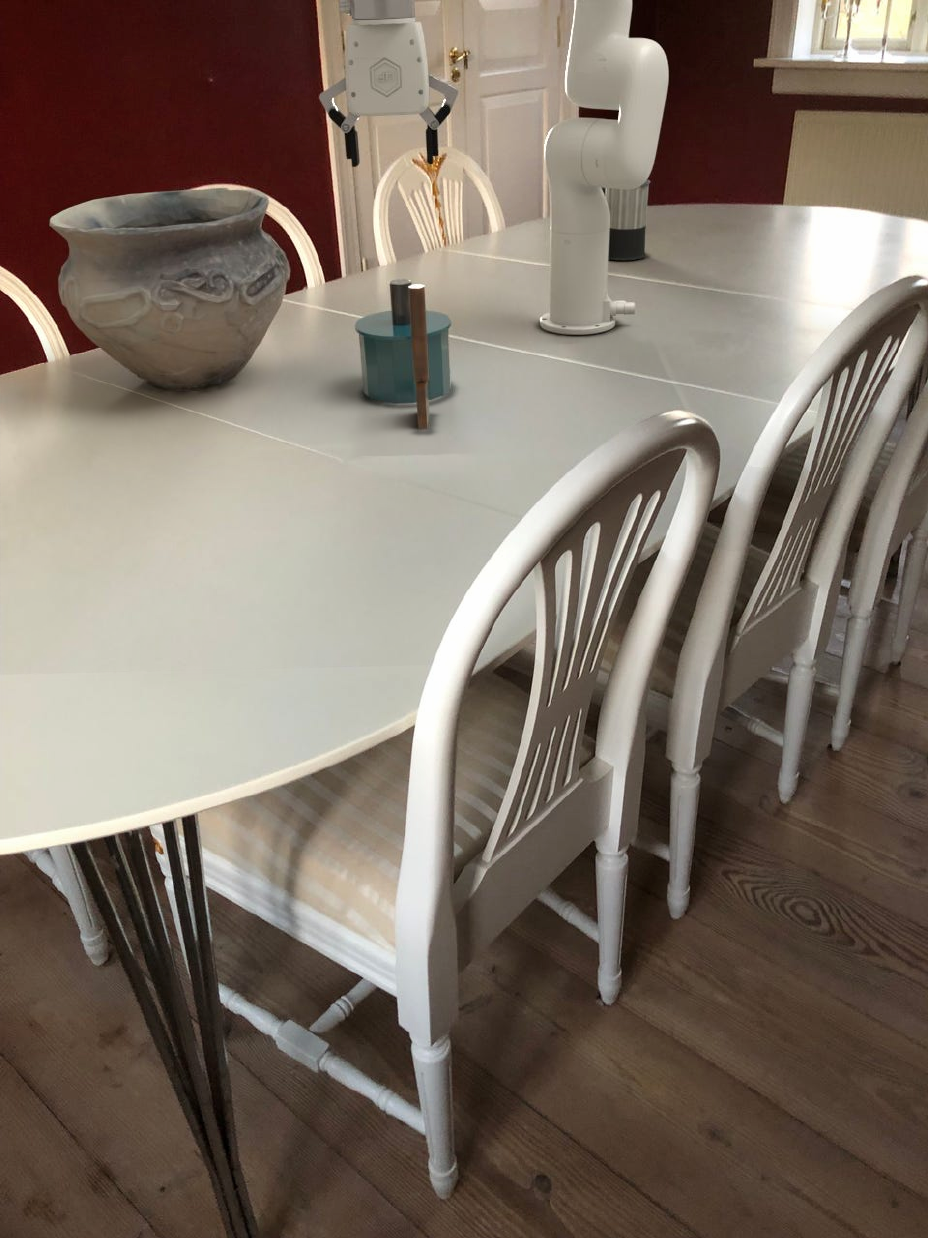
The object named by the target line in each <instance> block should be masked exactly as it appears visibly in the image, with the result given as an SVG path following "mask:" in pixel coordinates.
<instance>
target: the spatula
mask: <svg viewBox="0 0 928 1238" xmlns="http://www.w3.org/2000/svg"><path fill="white" fill-rule="evenodd" d="M408 288H409V305H410V322H411V339H412V356H413V373H414V381H415V382H417V385H416V398H417V402H416V413H417V414H416V415H417V429H418V430H424V429H425V430H426V429H428V427H429V417H430V403H429V401H430V400H428V381H429V364H428V345H427V325H426V310H427V308H426V307H427V306H426V289H425V288H426V287H425V285H424V284H419V283H418V284H412V285H411V286H409V287H408Z"/></svg>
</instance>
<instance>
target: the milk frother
mask: <svg viewBox="0 0 928 1238" xmlns="http://www.w3.org/2000/svg"><path fill="white" fill-rule="evenodd" d="M650 183H651V180H649V179H647V180H646V181H645V182H644V183H643V184H642V185H641V186H640V187H638V188H635V189H630V190H623V189H613V188H603V187H601V188H602V190H603V193H604V195H605V197H606V200H607V203H608V206H609V211H610V229H609V255H608V260H612V261H623V262H624V261H633V260H634V261H635V260H640V259H644V258H645V257H646V255H647V254H646V228H647V225H646V224H647V216H648V202H649V186H650Z"/></svg>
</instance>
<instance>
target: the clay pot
mask: <svg viewBox="0 0 928 1238" xmlns="http://www.w3.org/2000/svg"><path fill="white" fill-rule="evenodd" d="M269 205H270V200H269V197H268V196H267V194H265V193H264V192H262V191H260V190H258V189H251V188H247V189H244V188H243V189H230V188H228V187H212V188H205V189H183V190H182V189H181V190H169V191H168V190H167V191H152V192H142V193H129V194H122V195H117V196H110V197H103V198H96V199H92V200H91V199H90V200H88V201H85V202H81V203H80V204H76V205H73V206H71V207H68V208H66V209H63V210H61V211H59V212H58V213H56V214H55V215H53V216H51V218H50V219H49V227H51V228H52V229H53V230H54V231H55V232H57V233H58V234H59V235H60V236H61V237H62V238H64V239H65V240H66V241H67V244H68V245H67V246H68V248H69V249H68V250H69V253H68V257H67V260H66V261H64V263H63V264H62V266H61V268H60V273H59V275H58V294H59V298H60V301H61V304H62V306H64V308H66V311H67V313H68V315H69V317H70V319H71V321H72V322H73V323H74V325H75V326H76V327H77V328H78V329H79V330H80V331H81V332H82V333H83V334H84V335H85V336H86V338H88V339H89V340H90V341H91V342H92V343H93V344H94V345H96V346H97V347H98V348H99V349H101V350H102V351H103V352H105V354H107V355H108V356H110V357H111V358H112V359H114V360H115V361H117V363H119V364H120V365H121V366H122V367H124V368H125V369H127V370H128V371H129V372H131V373H132V374H133V375H134V376H136V377H137V378H139V379H140V380H145V381H146V383H147V384H148V385H150V386H151V387H153V388H154V389H157V390H159V391H166V392H190V391H199V390H206V389H209V388H212V387H219V386H220V387H221V386H222V385H223V384H226V383H228V382H230V381H231V380H233V379H235V377H236V376H238V375H239V373H240V372H241V371H242V370H243V369H244V368H245V367H246V365H247V364H248V363H249V362H250V360H251V359H252V357H253V356H254V354H255V352H256V351H257V349H258V347H259V346H260V345H261V343H262V341H263V340H264V337H265V336H266V335H267V334H266V333H267V332H268V330H269V327H270V326H271V324H272V322H273V320H274V319H275V317H276V315H277V313H278V311H279V310H280V308H281V306H282V303H283V300H284V297H285V295H286V290H287V283H288V281H289V280H290V278H291V277H290V276H291V267H290V263H289V262H290V261H289V260H288V258H287V255H286V252H285V251H284V250H283V249H282V248H281V246H279V244H278V242H276V241H275V239H274V238H273V237H272V235H270V234H269V233H267V232H265V231H264V229H263V228H262V223H263V220H264V218H265V214H266V213H267V211H268V207H269Z"/></svg>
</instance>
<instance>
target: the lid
mask: <svg viewBox="0 0 928 1238" xmlns="http://www.w3.org/2000/svg"><path fill="white" fill-rule="evenodd" d="M412 283H413V282H412V280H410V279H407V278H406V279H405V278H402V279H401V278H400V279H399V278H398V279H393V280H390V281H389V296H390V297H389V298H390V310H386V311H380V312H375V313H371V314H369V315H368V314H367V315H366V316H363V317H361V318H359V319H358V320H357V321H356V322H355V323H354V331H355V332H356V333H357V334H358V335H359V334H360V335H362V336H365V337H369V338H374V339H382V340H409V339H411V322H410V305H409V288H408V287H409V286H411V285H413V284H412ZM426 325H427V337H429V336H433V335H437V334H439V333H442V332H444V331H446V330H447V329H450V328H451V326H452V319H451V317H450V316H448V315H447V314H445V313H442V312H439V311H435V310H428V309H426Z"/></svg>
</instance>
